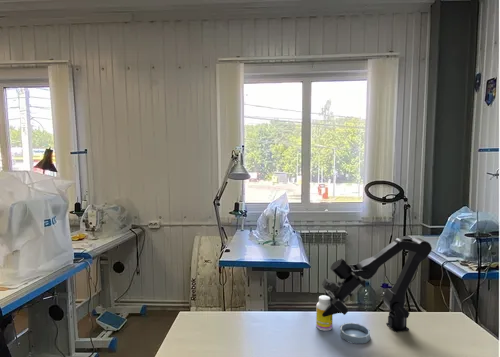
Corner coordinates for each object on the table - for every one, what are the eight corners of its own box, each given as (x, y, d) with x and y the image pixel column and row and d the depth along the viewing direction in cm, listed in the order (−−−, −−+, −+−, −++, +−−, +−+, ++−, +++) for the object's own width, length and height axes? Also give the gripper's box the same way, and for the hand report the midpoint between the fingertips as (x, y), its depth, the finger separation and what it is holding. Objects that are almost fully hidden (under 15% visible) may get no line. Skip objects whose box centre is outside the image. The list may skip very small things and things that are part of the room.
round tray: (359, 327, 138) (359, 321, 137) (375, 341, 127) (375, 335, 127) (335, 330, 135) (335, 324, 135) (349, 345, 124) (349, 339, 124)
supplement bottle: (332, 332, 134) (333, 301, 133) (316, 330, 135) (316, 300, 134) (331, 324, 140) (332, 294, 140) (316, 322, 142) (316, 293, 141)
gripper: (329, 265, 146) (304, 289, 146) (340, 281, 127) (311, 309, 128) (346, 282, 146) (321, 306, 147) (360, 301, 127) (331, 328, 128)
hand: (321, 311), depth 137 cm, fingers closed on supplement bottle, 7 cm apart
